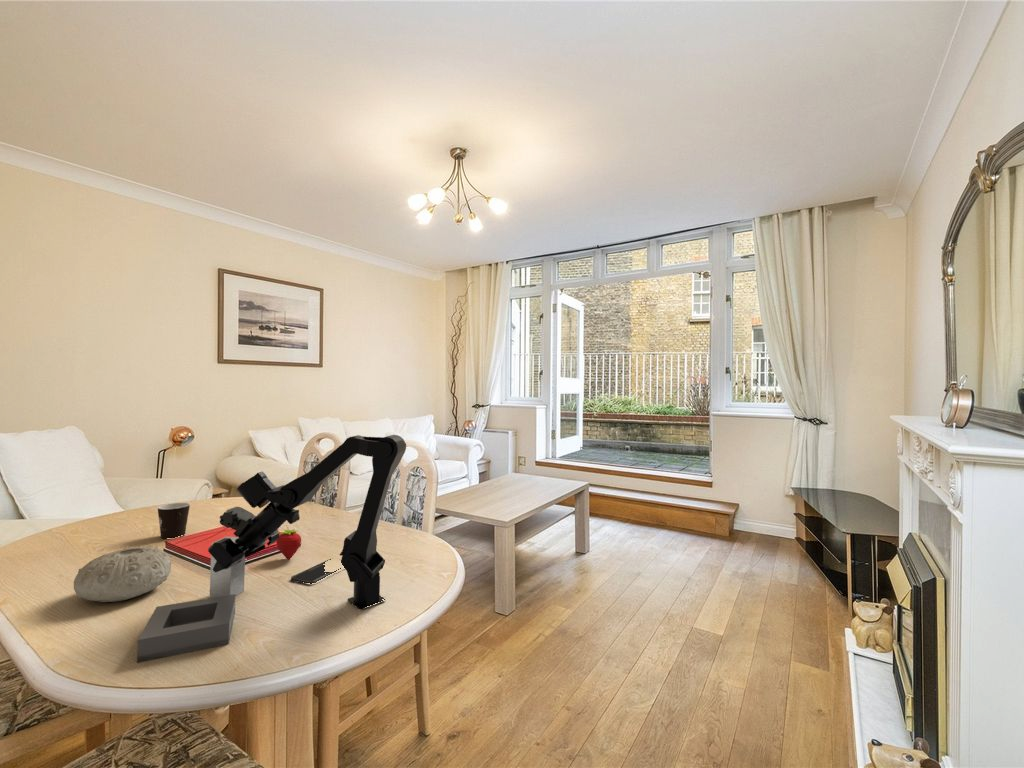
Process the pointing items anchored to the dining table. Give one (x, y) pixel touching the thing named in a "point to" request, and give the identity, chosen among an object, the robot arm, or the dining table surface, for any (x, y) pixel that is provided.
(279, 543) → the strawberry
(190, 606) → the cradle
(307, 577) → the phone
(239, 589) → the steel block
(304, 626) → the dining table surface
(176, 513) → the coffee mug
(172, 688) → the dining table surface
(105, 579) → the decorative shell
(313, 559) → the dining table surface
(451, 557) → the dining table surface
